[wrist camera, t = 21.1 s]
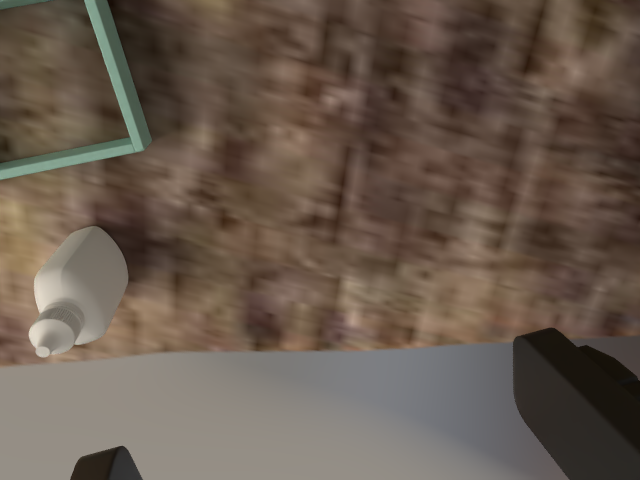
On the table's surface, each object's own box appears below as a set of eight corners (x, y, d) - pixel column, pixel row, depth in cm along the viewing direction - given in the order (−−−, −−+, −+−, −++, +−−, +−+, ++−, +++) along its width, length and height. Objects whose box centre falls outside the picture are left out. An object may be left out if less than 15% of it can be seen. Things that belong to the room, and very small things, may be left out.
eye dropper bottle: (68, 286, 36) (-3, 390, 26) (71, 220, 35) (-4, 301, 24) (127, 293, 38) (83, 396, 27) (134, 229, 36) (89, 311, 25)
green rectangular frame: (101, -20, 29) (86, -26, 26) (152, 141, 33) (144, 150, 30) (-121, 19, 28) (-162, 16, 25) (-40, 180, 32) (-67, 193, 29)
